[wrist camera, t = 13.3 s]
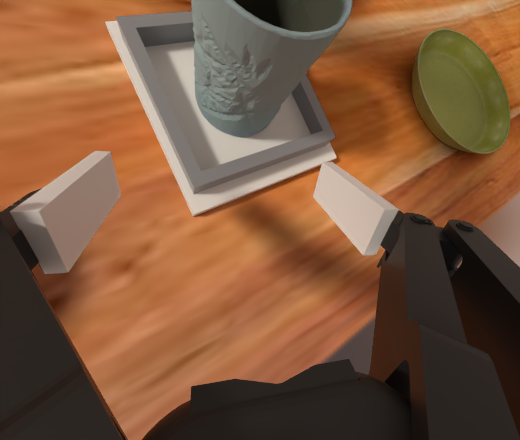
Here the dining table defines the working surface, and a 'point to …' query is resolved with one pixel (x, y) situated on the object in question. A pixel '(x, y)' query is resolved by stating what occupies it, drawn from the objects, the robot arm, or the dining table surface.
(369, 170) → the dining table surface
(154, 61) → the tray
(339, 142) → the dining table surface
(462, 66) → the saucer
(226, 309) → the dining table surface
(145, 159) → the dining table surface
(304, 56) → the blue-grey cup
